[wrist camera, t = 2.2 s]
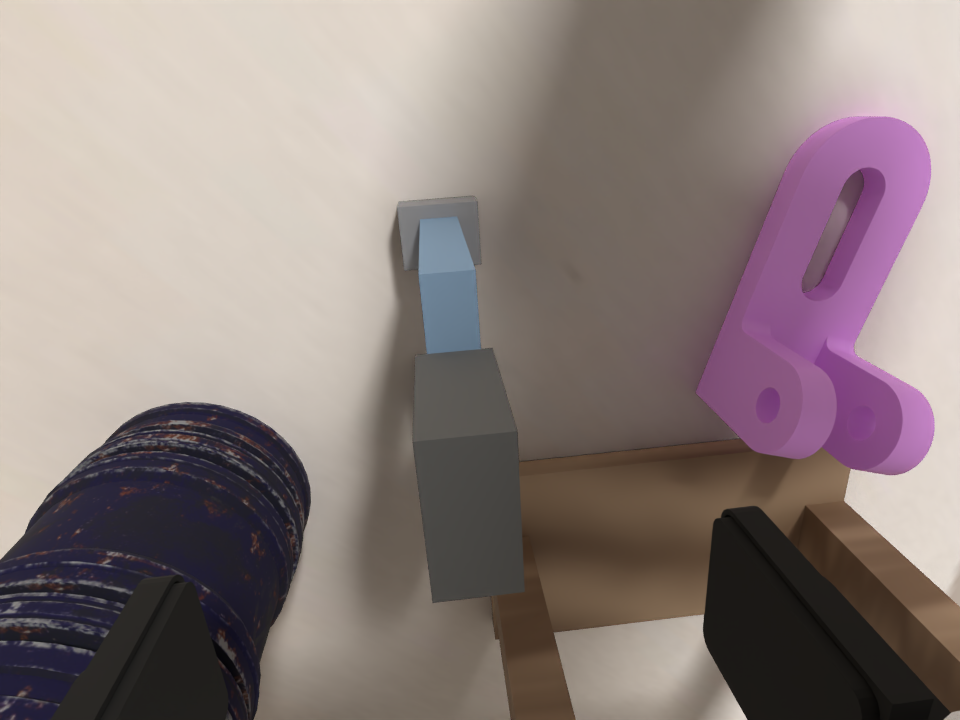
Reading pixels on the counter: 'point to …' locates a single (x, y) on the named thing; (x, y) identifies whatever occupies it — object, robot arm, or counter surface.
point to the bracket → (825, 309)
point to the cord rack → (694, 557)
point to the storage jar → (155, 549)
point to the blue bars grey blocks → (460, 413)
